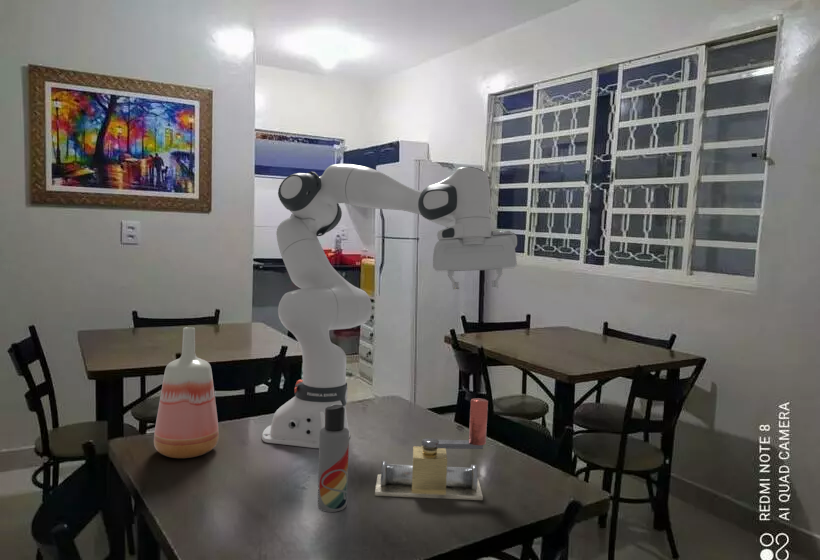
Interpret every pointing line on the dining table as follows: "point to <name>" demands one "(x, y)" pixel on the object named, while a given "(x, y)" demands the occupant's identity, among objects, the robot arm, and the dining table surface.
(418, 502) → the dining table surface
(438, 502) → the dining table surface
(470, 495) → the pipe valve
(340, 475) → the lotion bottle
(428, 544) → the dining table surface
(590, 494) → the dining table surface
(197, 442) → the vase
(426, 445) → the lever
